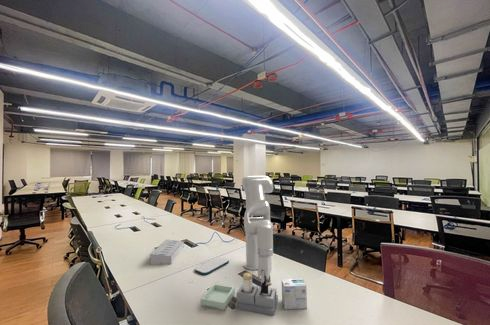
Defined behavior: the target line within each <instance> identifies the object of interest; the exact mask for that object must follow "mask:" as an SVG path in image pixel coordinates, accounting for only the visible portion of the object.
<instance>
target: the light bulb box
mask: <svg viewBox="0 0 490 325" xmlns="http://www.w3.org/2000/svg"><path fill="white" fill-rule="evenodd" d="M280 281H281V298H282V299H281V301H282V306H283V308H284V310H297V309H298V310H299V309H300V310H301V309H308V302H307V301H308V299H307V298H308V297H307V296H308V295H307V291H308V290H307V284H306V282H305V281H304V279H303V278H300V277H299V278H281V279H280Z"/></svg>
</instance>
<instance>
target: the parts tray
mask: <svg viewBox="0 0 490 325" xmlns="http://www.w3.org/2000/svg"><path fill="white" fill-rule="evenodd" d="M235 295H236V287H235V286H232V285H227V284H219V283H213V284H212V285H211V286H210V287H209V288H208V290H207V291H206V292H205V293H204V295H202V297H201V298H200V306H201V307H202V308H207V309H213V310H218V311H222V312H225V311H226V309H227V308H228V305H229V304H230V303H231V301H232V299H233V298H234V296H235Z"/></svg>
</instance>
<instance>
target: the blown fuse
mask: <svg viewBox="0 0 490 325" xmlns="http://www.w3.org/2000/svg"><path fill="white" fill-rule="evenodd" d="M265 277H266V276H265ZM264 280H265V281H266V279H264ZM271 283H272V282H271V275H270V276H269V278H268V280H267V285H268V294H264V293H261V295H263V296H270V297H271V288H272V287H271Z"/></svg>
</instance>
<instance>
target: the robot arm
mask: <svg viewBox="0 0 490 325" xmlns="http://www.w3.org/2000/svg"><path fill="white" fill-rule="evenodd" d="M241 185H242V188H243V191H244V195H245V209H246V210H245V212H244V216H243V221H244V222H243V223H244V224H243V225H244V232H245V256H246V257H245V259H246V260H245V262H244V263H243V266H244V268H246V270H251V271H256V270H257V278H258V279H260V287H261V293H264V294H268V285H267V280H268V278H269V276H270V277H271V272H272V268H273V267H272V264H273V263H272V256H273V255H274V233H273V232H274V225H273V222H271V205H270V203H269V202H268V201H266V195H265V194H270V193H273V191H274V182H273V180H272V179H271V178H270V177H269V176H268V175H248V176H244V177H242V180H241ZM250 216H251V217H250ZM265 276H266V277H265ZM264 279H266V281H265V280H264Z"/></svg>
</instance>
